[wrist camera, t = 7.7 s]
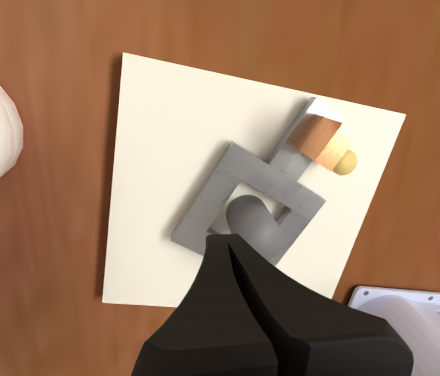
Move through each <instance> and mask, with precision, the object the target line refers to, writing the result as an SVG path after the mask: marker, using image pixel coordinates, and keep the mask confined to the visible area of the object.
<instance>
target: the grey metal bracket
mask: <svg viewBox="0 0 440 376" xmlns="http://www.w3.org/2000/svg"><path fill="white" fill-rule="evenodd" d="M343 119H344V118H342V117H341V116H340V115H338V114H337V113H336V112H334V111H333V110H332V109H331V108H329V107H328V106H327V105H325V104H324V103H323V102H321V101H320V100H319V99H317V98H316V97H310V98H309V100H308V101H307V103H306V104H305V106H304V107H303V108H302V110H301V111H300V113H299V114H298V116H297V117H296V119H295V120H294V121H293V123H292V124H291V126H290V127H289V129H288V130H287V132H286V133H285V134H284V136H283V137H282V139H281V140H280V142H279V143H278V145H277V146H276V147H275V149H274V150H273V152H272V153H271V155H270V156H269V157H268V159H267V160H266V161H264V160H263V159H261V158H260V157H258V156H256V155H255V154H253V153H252V152H250V151H248V150H247V149H245V148H244V147H242V146H240V145H239V144H237V143H236V142H234V141H231V143H230V144H229V146H228V147H227V149H226V150H225V152H224V153H223V155H222V156H221V158H220V160H219V161H218V163H217V164H216V166H215V167H214V169H213V170H212V172H211V173H210V175H209V177H208V178H207V180H206V181H205V183H204V184H203V186H202V187H201V189H200V190H199V192H198V194H197V195H196V197H195V198H194V200H193V201H192V203H191V204H190V206H189V207H188V209H187V210H186V212H185V214H184V215H183V217H182V218H181V220H180V221H179V223H178V224H177V226H176V227H175V229H174V231H173V232H172V234H171V240H170V241H172V242H174V243H176V244H179V245H181V246H183V247H185V248H187V249H189V250H191V251H194V252H196V253H198V254H200V255H202V256H204V253H205V249H206V237H207V236H208V235H215V234H220V233H218V232H216V231H214V230H212V229H210V228H209V227H210V225H211V224H212V222H213V221H214V220H215V218H216V217H217V215H218V214H219V212H220V211H221V209H222V208H223V206H224V205H225V203H226V202H227V200H228V199H229V198H230V196H231V195H232V193H233V192H234V190H235V189H236V187H237V186H238V184H239V183H240V181H241V180H242V181H244V182H246V183H247V184H249V185H251V186H253V187H254V188H256V189H258V190H259V191H261V192H263V193H265V194H266V195H268V196H270V197H271V198H273V199H275V200H277V201H278V202H280V203H282V204H283V205H285V206H287V207H286V208H285V210H284V211H283V213H282V214H281V215H280V217H279V218H278V219H277V221H276V222H277V224H278V225H279V227H280V228H281V230H282V232H283V235H284V243H283V246H282V249H281V250H280V252H279V253H278V254H277V255H276V256H275V257H274V258H272V259H271V260H269V262H270V263H271V264H272V265H274V266H276V265H277V263H278V262H279V261H280V260H281V258H282V257H283V256H284V255H285V253H286V252H287V251H288V249H289V248H290V247H291V246H292V244H293V243H294V242H295V240H296V239H297V238H298V237H299V235H300V234H301V233H302V232H303V230H304V229H305V228H306V226H307V225H308V224H309V223H310V221H311V220H312V219H313V217H314V216H315V215H316V214H317V212H318V211H319V210H320V209H321V207H322V206H323V205H324V203H325V202H326V200H325V199H324V198H323V197H322V196H320V195H319V194H317V193H315V192H314V191H312V190H311V189H309V188H307V187H306V186H304V185H303V184H301V183H299V182H298V180H299V178H300V177H301V176H302V174H303V173H304V172H305V170H306V169H307V168H308V166H309V165H310V164H311V162H312V161H313V160H314V161H315V162H317V163H318V164H320V165H321V166H323V167H324V168H326V169H328V170H329V171H332V170H333V168H334V167H335V166H336V164H337V163H338V162H339V160H340V159H341V158H342V157H343V155H344V154H345V153H346V151H347V150H348V149H349V147H350V146H351V145H352V143H353V142H354V141H355V140H356V138H357V137H358V136H359V134H357V133H356V132H355V131H353V130H352V129H351V128H349V127H348V126H347V125H345V124H344V123H342V120H343Z"/></svg>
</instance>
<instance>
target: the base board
mask: <svg viewBox="0 0 440 376" xmlns="http://www.w3.org/2000/svg"><path fill="white" fill-rule="evenodd" d="M310 97H316V98H317V99H319V100H320V101H321V102H323V103H324V104H325V105H327V106H328V107H329V108H331V109H332V110H333V111H334V112H336V113H337V114H338V115H340V116H341V117H342V118H344V119H343V120H342V123H344V124H345V125H347V126H348V127H349V128H351V129H352V130H353V131H355V132H356V133H357V134H359V136H358V137H357V138H356V140H355V141H354V142H353V143H352V145H351V146H350V147H349V149H348V150H347V151H346V153H345V154H344V155H343V157H342V158H341V159H340V160H339V162H338V163H337V164H336V166H335V167H334V168H333V170H332V171H329V170H328V169H326V168H324V167H323V166H321V165H320V164H318V163H317V162H315V161H314V160H313V161H312V162H311V164H310V165H309V166H308V168H307V169H306V170H305V172H304V173H303V174H302V176H301V177H300V178H299V180H298V182H299V183H301V184H303V185H304V186H306V187H307V188H309V189H311V190H312V191H314V192H315V193H317V194H319V195H320V196H322V197H323V198H324V199H325V200H326V202H325V203H324V205H323V206H322V207H321V209H320V210H319V211H318V212H317V214H316V215H315V216H314V217H313V219H312V220H311V221H310V223H309V224H308V225H307V226H306V228H305V229H304V230H303V232H302V233H301V234H300V235H299V237H298V238H297V239H296V240H295V242H294V243H293V244H292V246H291V247H290V248H289V249H288V251H287V252H286V253H285V255H284V256H283V257H282V258H281V260H280V261H279V262H278V263H277V265H276V266H275V267H276V268H278V269H279V270H280V271H282V272H283V273H285V274H286V275H288V276H289V277H291V278H292V279H294V280H295V281H297V282H299V283H300V284H302V285H304V286H306V287H307V288H309V289H311V290H313V291H315V292H317V293H319V294H321V295H323V296H325V297H327V298H330V299H332V296H333V294H334V291H335V289H336V286H337V284H338V281H339V279H340V277H341V274H342V272H343V269H344V267H345V264H346V262H347V259H348V257H349V254H350V252H351V249H352V247H353V244H354V242H355V239H356V237H357V235H358V232H359V230H360V227H361V225H362V222H363V220H364V217H365V215H366V212H367V210H368V207H369V205H370V202H371V200H372V197H373V195H374V193H375V190H376V188H377V185H378V183H379V180H380V178H381V175H382V173H383V170H384V168H385V165H386V163H387V160H388V158H389V155H390V153H391V151H392V148H393V146H394V143H395V141H396V138H397V136H398V133H399V131H400V128H401V126H402V123H403V121H404V118H405V116H406V114H402V113H397V112H393V111H388V110H384V109H379V108H374V107H370V106H365V105H361V104H356V103H352V102H347V101H342V100H338V99H333V98H329V97H324V96H320V95H315V94H311V93H306V92H301V91H297V90H292V89H288V88H283V87H279V86H274V85H269V84H265V83H260V82H256V81H251V80H247V79H242V78H238V77H233V76H228V75H224V74H219V73H215V72H210V71H206V70H201V69H196V68H192V67H187V66H183V65H178V64H174V63H169V62H165V61H160V60H155V59H151V58H146V57H142V56H137V55H133V54H128V53H123V60H122V72H121V84H120V96H119V108H118V120H117V132H116V144H115V156H114V167H113V179H112V191H111V203H110V215H109V227H108V239H107V251H106V263H105V275H104V287H103V299H102V303H116V304H132V305H149V306H165V307H178V306H179V304H180V303H181V301H182V300H183V298H184V297H185V295H186V294H187V292H188V291H189V289H190V287H191V285H192V283H193V281H194V279H195V277H196V275H197V273H198V270H199V268H200V266H201V263H202V260H203V257H204V256H202V255H200V254H198V253H196V252H194V251H191V250H189V249H187V248H185V247H183V246H181V245H179V244H176V243H174V242H172V241H170V240H171V234H172V232H173V231H174V229H175V227H176V226H177V224H178V223H179V221H180V220H181V218H182V217H183V215H184V214H185V212H186V210H187V209H188V207H189V206H190V204H191V203H192V201H193V200H194V198H195V197H196V195H197V194H198V192H199V190H200V189H201V187H202V186H203V184H204V183H205V181H206V180H207V178H208V177H209V175H210V173H211V172H212V170H213V169H214V167H215V166H216V164H217V163H218V161H219V160H220V158H221V156H222V155H223V153H224V152H225V150H226V149H227V147H228V146H229V144H230V143H231V141H234V142H236V143H237V144H239V145H240V146H242V147H244V148H245V149H247V150H248V151H250V152H252V153H253V154H255V155H256V156H258V157H260V158H261V159H263V160H264V161H266V160H267V159H268V157H269V156H270V155H271V153H272V152H273V150H274V149H275V147H276V146H277V145H278V143H279V142H280V140H281V139H282V137H283V136H284V134H285V133H286V132H287V130H288V129H289V127H290V126H291V124H292V123H293V121H294V120H295V119H296V117H297V116H298V114H299V113H300V111H301V110H302V108H303V107H304V106H305V104H306V103H307V101H308V100H309V98H310ZM286 207H287V206H285V205H283V204H282V203H280V202H278V201H277V200H275V199H273V198H271V197H270V196H268V195H266V194H265V193H263V192H261V191H259V190H258V189H256V188H254V187H253V186H251V185H249V184H247V183H246V182H244V181H242V180H241V181H240V183H239V184H238V186H237V187H236V189H235V190H234V192H233V193H232V195H231V196H230V198H229V199H228V200H227V202H226V203H225V205H224V206H223V208H222V209H221V211H220V212H219V214H218V215H217V217H216V218H215V220H214V221H213V222H212V224H211V225H210V227H209V228H210V229H212V230H214V231H216V232H218V233H220V234H239V235H240V236H241V237H242V238H243V239H244V240H245V241H246V242H247V243H248V244H249V245H250V246H251V247H252V248H254V249H255V250H256V251H257V252H258V253H259V254H260V255H261V256H263V257H264V258H265V259H266V260H267V261H269V260H271V259H272V258H274V257H275V256H276V255H277V254H278V253H279V252H280V250H281V249H282V246H283V243H284V235H283V232H282V230H281V228H280V227H279V225H278V224H277V222H276V221H277V219H278V218H279V217H280V215H281V214H282V213H283V211H284V210H285V208H286Z"/></svg>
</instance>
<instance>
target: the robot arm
mask: <svg viewBox="0 0 440 376" xmlns="http://www.w3.org/2000/svg"><path fill="white" fill-rule="evenodd" d="M131 376H440V293H439V292H427V291H416V290H404V289H392V288H380V287H368V286H358V287H356V288H355V289H354V292H353V294H352V296H351V299H350V301H349V303H348V306H346V305H344V304H341V303H339V302H336V301H334V300H332V299H330V298H327V297H325V296H323V295H321V294H319V293H317V292H315V291H313V290H311V289H309V288H307V287H306V286H304V285H302V284H300V283H299V282H297V281H295V280H294V279H292V278H291V277H289V276H288V275H286V274H285V273H283V272H282V271H280V270H279V269H278V268H276V267H275V266H274V265H272V264H271V263H270V262H269V261H267V260H266V259H265V258H264V257H263V256H261V255H260V254H259V253H258V252H257V251H256V250H255V249H254V248H252V247H251V246H250V245H249V244H248V243H247V242H246V241H245V240H244V239H243V238H242V237H241V236H240V235H239V234H215V235H208V236H207V237H206V249H205V253H204V257H203V260H202V263H201V266H200V268H199V270H198V273H197V275H196V277H195V279H194V281H193V283H192V285H191V287H190V289H189V291H188V292H187V294H186V295H185V297H184V298H183V300H182V301H181V303H180V304H179V306H178V307H177V308H176V310H175V311H174V312H173V313H172V314H171V316H170V317H169V318H168V319H167V320H166V322H165V323H164V324H163V325H162V326H161V327H160V328H159V329H158V330H157V331H156V332H155V333H154V334H153V335H152V336H151V337H150V338H149V339H148V340H146V341H145V342H144V344H143V347H142V349H141V351H140V354H139V356H138V358H137V361H136V363H135V366H134V369H133V372H132V375H131Z"/></svg>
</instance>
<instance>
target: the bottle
mask: <svg viewBox="0 0 440 376" xmlns="http://www.w3.org/2000/svg"><path fill="white" fill-rule="evenodd" d="M22 148H23V125H22V122H21V119H20V117H19V114H18V111H17V109H16V106H15V104H14V102H13V101H12V100H11V99H10V97H9V96H8V95H7V93H6V92H5V91H4V90H3V88H2V87H1V86H0V178H1V177H2V176H3V175H4V174H5V173H6V172H7V171H9V170H10V169H11V168H12V167H13V166H14V165H15V164H16V162H17V160H18V157H19V155H20V153H21V151H22Z"/></svg>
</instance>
